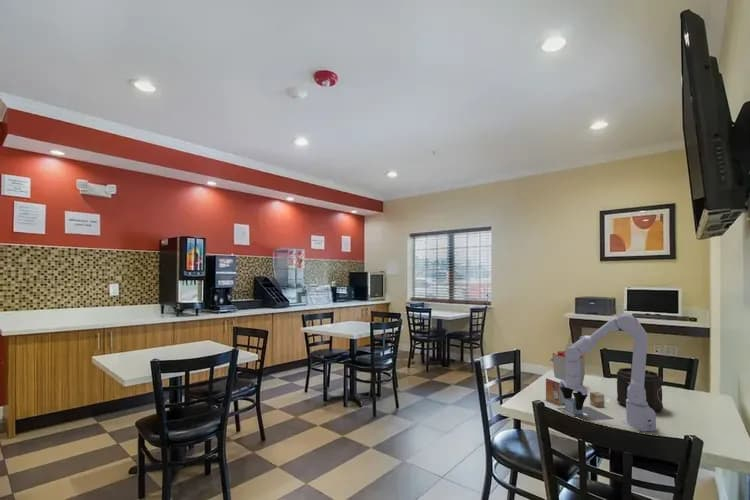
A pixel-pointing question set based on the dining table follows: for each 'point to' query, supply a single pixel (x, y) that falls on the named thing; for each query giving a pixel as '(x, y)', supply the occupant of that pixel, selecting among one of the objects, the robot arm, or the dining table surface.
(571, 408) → the blue cube
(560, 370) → the citrus juicer
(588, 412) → the letter mat
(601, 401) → the maple block
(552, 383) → the small box
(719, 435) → the dining table surface
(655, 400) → the wooden barrel
